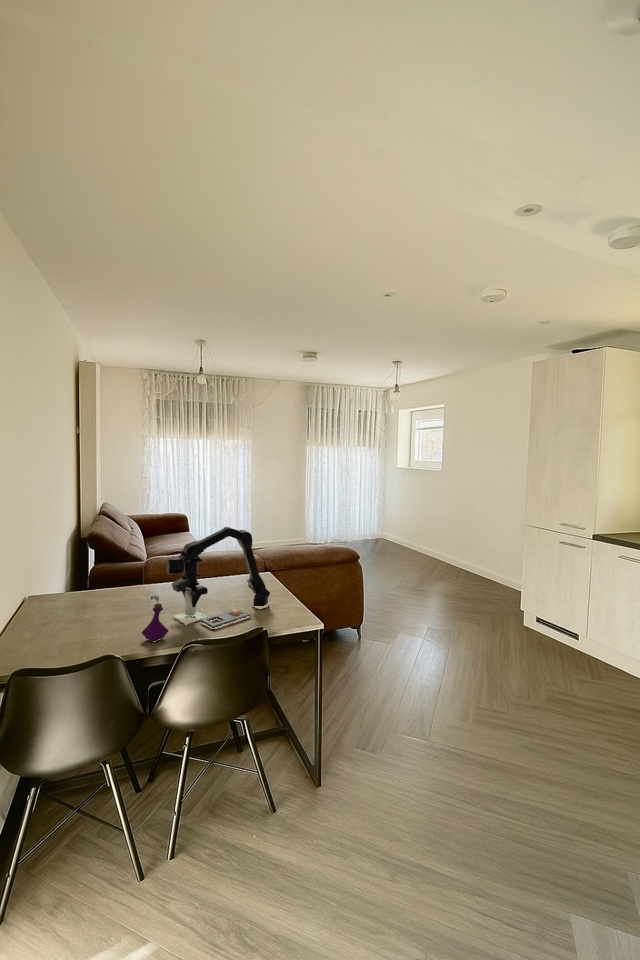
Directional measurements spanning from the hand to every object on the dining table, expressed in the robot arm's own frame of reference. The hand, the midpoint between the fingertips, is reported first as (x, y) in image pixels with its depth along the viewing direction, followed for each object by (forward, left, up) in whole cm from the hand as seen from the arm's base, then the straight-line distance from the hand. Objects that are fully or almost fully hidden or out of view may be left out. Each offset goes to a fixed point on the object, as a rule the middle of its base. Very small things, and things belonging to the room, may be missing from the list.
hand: (190, 605), depth 203 cm
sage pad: (0, 0, -6) cm, 6 cm away
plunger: (-15, +13, -6) cm, 21 cm away
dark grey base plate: (-10, +13, -6) cm, 17 cm away
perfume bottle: (+22, +10, -6) cm, 25 cm away
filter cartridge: (0, 0, -4) cm, 4 cm away
